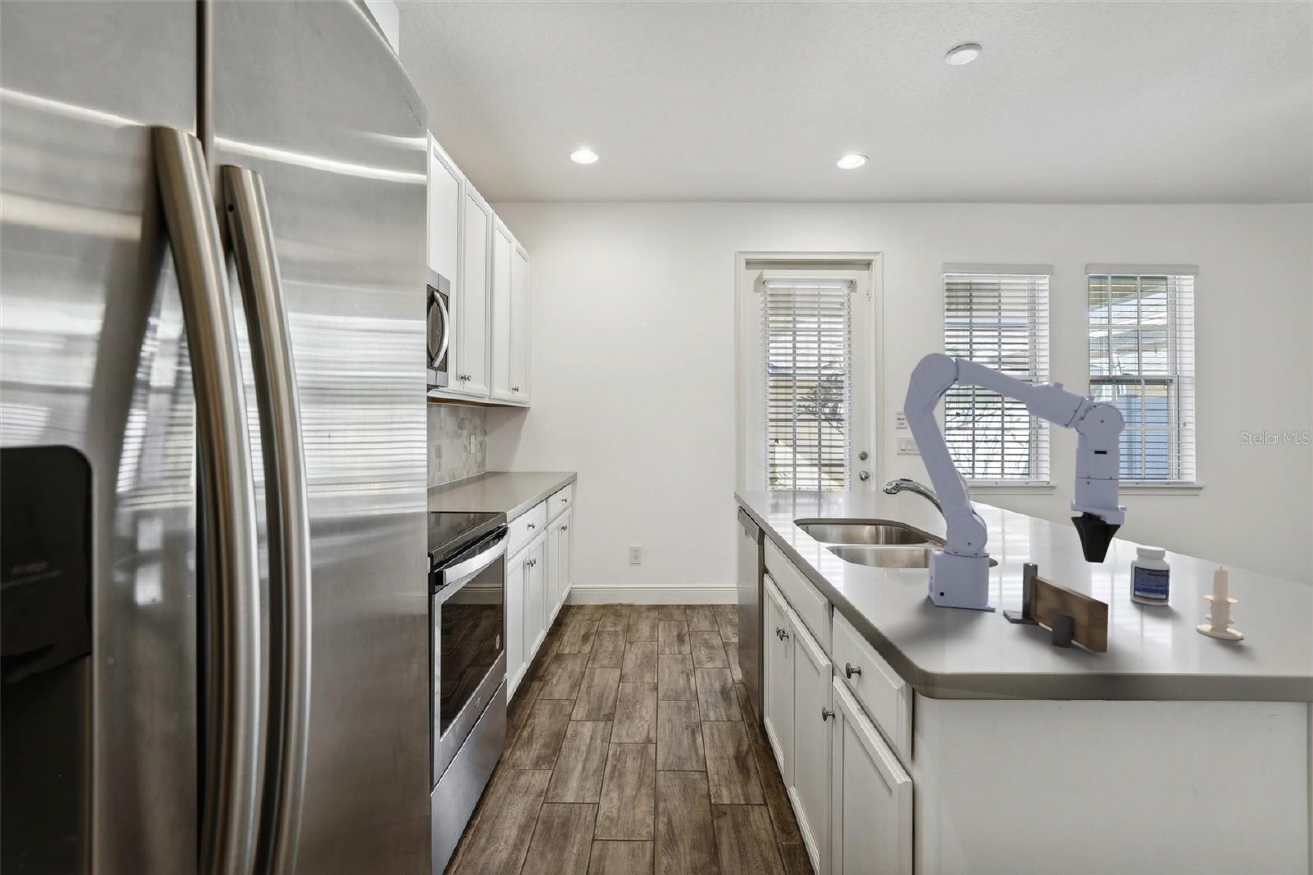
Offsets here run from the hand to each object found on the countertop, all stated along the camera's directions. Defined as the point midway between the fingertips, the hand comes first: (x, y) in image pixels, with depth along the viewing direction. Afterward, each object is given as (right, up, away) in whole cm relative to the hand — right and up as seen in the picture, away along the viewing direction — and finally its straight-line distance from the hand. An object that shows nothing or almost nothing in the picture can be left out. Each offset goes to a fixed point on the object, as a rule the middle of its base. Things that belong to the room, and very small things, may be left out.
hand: (1094, 561), depth 99 cm
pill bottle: (+17, -9, +10) cm, 22 cm away
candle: (+15, -10, -6) cm, 19 cm away
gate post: (-12, -9, 0) cm, 15 cm away
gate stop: (-12, -10, -11) cm, 19 cm away
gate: (-11, -9, -9) cm, 16 cm away
